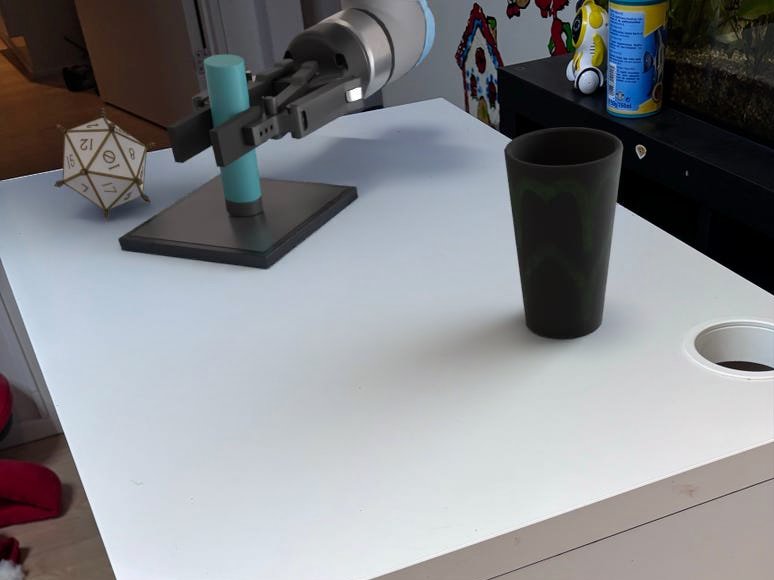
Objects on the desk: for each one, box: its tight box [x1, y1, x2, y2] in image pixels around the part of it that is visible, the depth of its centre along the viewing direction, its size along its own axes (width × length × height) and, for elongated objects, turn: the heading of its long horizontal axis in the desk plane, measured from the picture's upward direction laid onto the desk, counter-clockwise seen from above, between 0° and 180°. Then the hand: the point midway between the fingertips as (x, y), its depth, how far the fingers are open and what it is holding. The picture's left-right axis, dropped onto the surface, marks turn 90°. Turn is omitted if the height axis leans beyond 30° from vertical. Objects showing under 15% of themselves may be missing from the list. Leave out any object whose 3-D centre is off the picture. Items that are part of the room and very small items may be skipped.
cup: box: [503, 126, 624, 340], centre depth 70 cm, size 8×8×12 cm
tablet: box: [117, 173, 359, 269], centre depth 91 cm, size 15×16×1 cm
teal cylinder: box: [203, 53, 263, 217], centre depth 86 cm, size 3×3×12 cm
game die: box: [53, 106, 156, 222], centre depth 93 cm, size 9×8×10 cm
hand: (195, 147), depth 82 cm, fingers closed on teal cylinder, 3 cm apart
